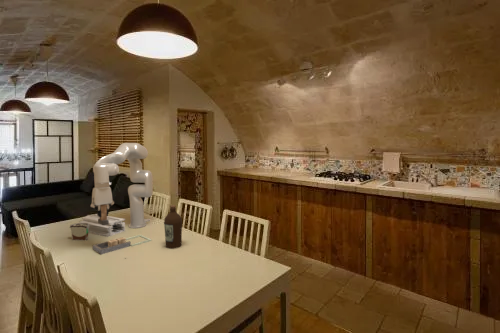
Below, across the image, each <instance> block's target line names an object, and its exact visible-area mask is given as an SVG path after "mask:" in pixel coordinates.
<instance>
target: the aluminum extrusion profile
mask: <svg viewBox="0 0 500 333" xmlns="http://www.w3.org/2000/svg"><path fill="white" fill-rule="evenodd" d="M81 219H82V220H81V221H79V223H88V224H89V228H88V234H92V235H97V236H102V237H105V238H108V237H112V236H115V235H118V234H120V233H124V232H126V222H125V221H126V218H122V217H121V218H120V217H116V216H111V215H108V216H107V220H109V224H108V225H101V224H99V223H98V219H100V217H98V215H97V213H95V214H92V213H91V214H87V215H85V216H83V217H81Z"/></svg>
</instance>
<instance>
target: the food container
mask: <svg viewBox="0 0 500 333" xmlns="http://www.w3.org/2000/svg"><path fill="white" fill-rule="evenodd" d="M69 228H70V233H71V239H72V241H85V240H86V241H88V239H89V233H88V228H89V224H88V223H80V222H76V223H72V224H70V225H69Z"/></svg>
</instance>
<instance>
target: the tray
mask: <svg viewBox="0 0 500 333" xmlns="http://www.w3.org/2000/svg"><path fill="white" fill-rule="evenodd" d="M125 238H126V241H129V240H133V239H135V238H136V239H137V238H142V239H144V240H143V241H138V242H135V243H131V246H130V247H135V246H139V245H141V244H145V243H149V242H152V241H153V240H152V239H151V238H149V237H147V236H145V235H143V234H137V235H134V236H130V237H125Z"/></svg>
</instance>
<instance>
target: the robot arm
mask: <svg viewBox="0 0 500 333" xmlns="http://www.w3.org/2000/svg"><path fill="white" fill-rule="evenodd" d="M148 156H149V151H148V149H147V148H146V146H144V145H142V144H140V143H137V142H123V143H121V144H120V145H119V146H118V147H117V148H116V149H115V151H113V152H112V153H110V154H107V155H104V156H102V157H101V158H99V159H98V160H97V161H96V162H95V163H94V165H93V168H92V171H93V175H94V176H93V178H94V179H93V180H94V187H93V188H92V192H91V204H90V208H93V209H95V210H97V211H96V214H97V215H98V217H102V216H101V210H100V206H101V205H105V204H106V207H107V216H109V210H110V207H112V206H113V205H114V204H115V201H114V200H113V193H112V188H111V187H110V186H111V185H112V182H110V176H111V177H112V176H113V177H114V176H116V175H118V173H120V172H119V171H120V167H119V165H120V164H123V163H124V162H125V161H126V159H127V161H128V163H129V179H130V182H132V183H136V184H131V185H129V186H128V187H127V193H128V198H129V216H130V217H129V218H130V223H128V227H129V228H131V229H140V228H143V227H146V226H147V222H150V221H151V218H145V210H144V208H145V206H144V201H143V198H151V197H152V196H153V190H154V188H153V186H154V184H153V182H154V180H153V179H154V178H153V176H154V175H153V173H152V171H151V170H148V169H143V163H142V161H141V160H145V159H146V158H148ZM139 183H140V184H139ZM141 183H142V184H141Z"/></svg>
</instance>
